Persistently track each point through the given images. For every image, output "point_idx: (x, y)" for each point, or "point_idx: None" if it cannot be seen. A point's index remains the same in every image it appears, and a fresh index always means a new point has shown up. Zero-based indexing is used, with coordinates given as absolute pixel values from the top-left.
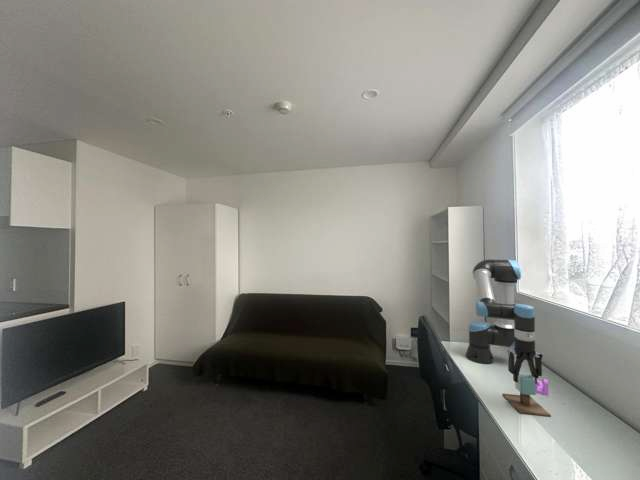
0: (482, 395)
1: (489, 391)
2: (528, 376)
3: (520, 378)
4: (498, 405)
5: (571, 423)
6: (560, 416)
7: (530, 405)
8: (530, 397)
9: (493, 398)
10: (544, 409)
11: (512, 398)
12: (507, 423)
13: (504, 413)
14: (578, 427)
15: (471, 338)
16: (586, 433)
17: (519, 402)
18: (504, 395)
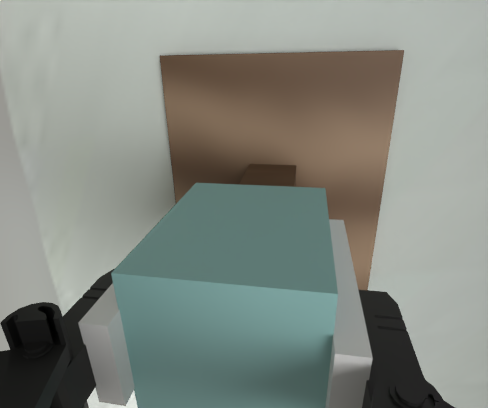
0: (18, 92)
1: (77, 7)
2: (296, 356)
3: (140, 377)
4: (95, 204)
5: (447, 332)
6: (440, 278)
7: None
8: (389, 79)
9: (84, 122)
10: (372, 244)
11: (210, 127)
12: None
13: None
14: (454, 359)
15: None
16: (449, 393)
17: (237, 178)
18: (164, 89)
